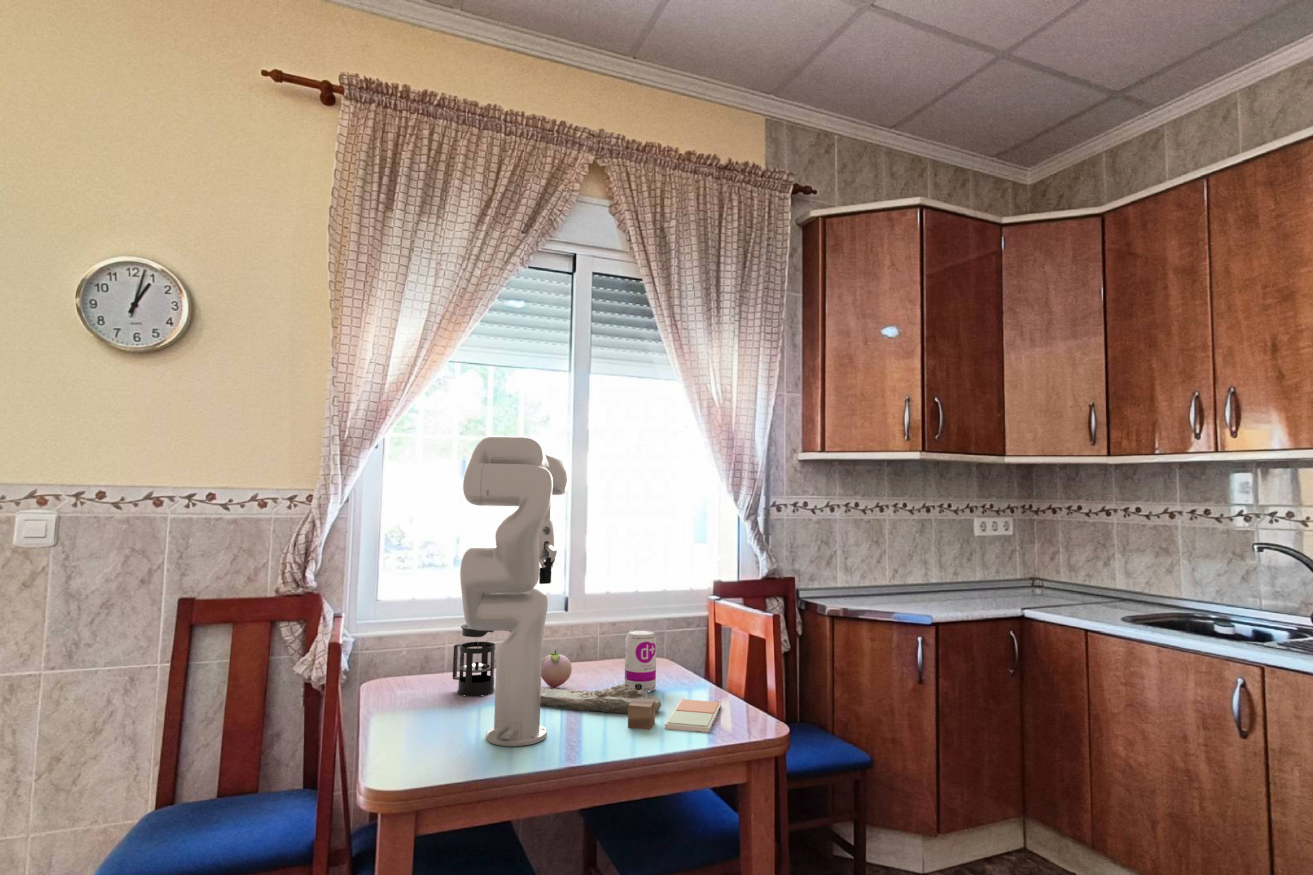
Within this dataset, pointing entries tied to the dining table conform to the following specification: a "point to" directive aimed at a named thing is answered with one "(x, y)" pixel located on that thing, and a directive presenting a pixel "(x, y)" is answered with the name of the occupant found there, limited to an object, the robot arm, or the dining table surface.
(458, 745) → the dining table surface
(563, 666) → the decorative fruit
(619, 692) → the elongated rock
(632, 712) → the walnut cube
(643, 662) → the supplement can
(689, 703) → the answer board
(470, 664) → the french press
